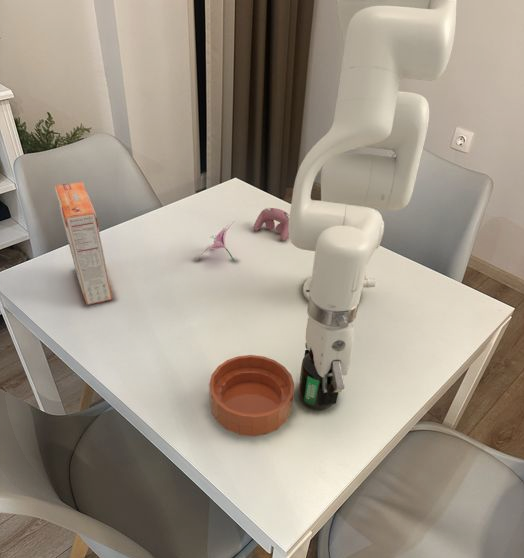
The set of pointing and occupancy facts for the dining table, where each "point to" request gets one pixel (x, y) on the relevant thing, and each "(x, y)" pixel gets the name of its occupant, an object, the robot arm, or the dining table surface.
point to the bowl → (251, 395)
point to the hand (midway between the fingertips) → (318, 384)
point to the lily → (219, 241)
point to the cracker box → (84, 242)
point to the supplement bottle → (311, 384)
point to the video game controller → (268, 218)
